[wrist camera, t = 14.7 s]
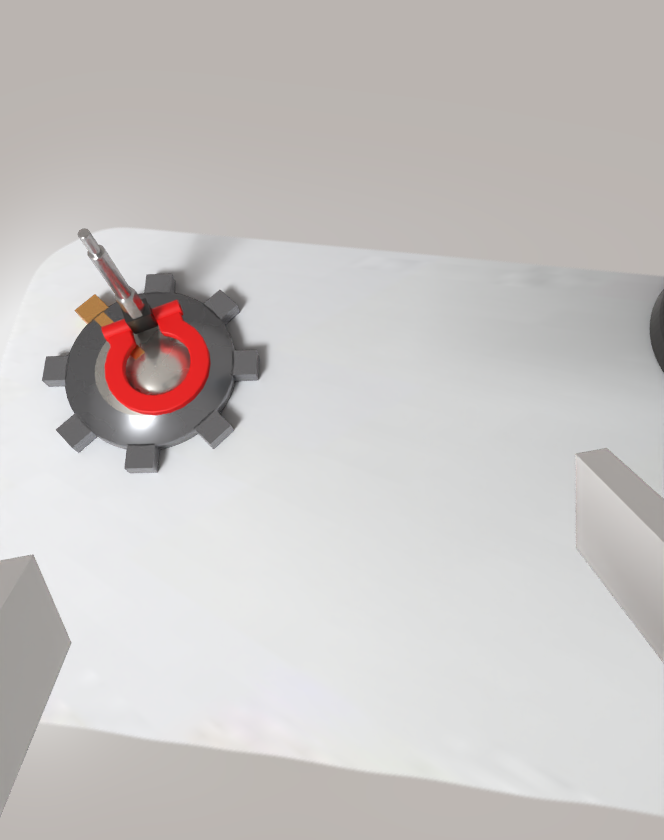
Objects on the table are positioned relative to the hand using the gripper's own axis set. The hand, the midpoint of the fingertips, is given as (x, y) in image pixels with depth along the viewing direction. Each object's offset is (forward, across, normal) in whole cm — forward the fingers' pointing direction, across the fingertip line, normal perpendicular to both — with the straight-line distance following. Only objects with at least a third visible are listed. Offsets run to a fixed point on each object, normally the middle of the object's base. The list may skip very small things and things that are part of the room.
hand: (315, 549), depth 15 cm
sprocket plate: (+38, -12, -6) cm, 41 cm away
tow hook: (+37, -12, -6) cm, 40 cm away
